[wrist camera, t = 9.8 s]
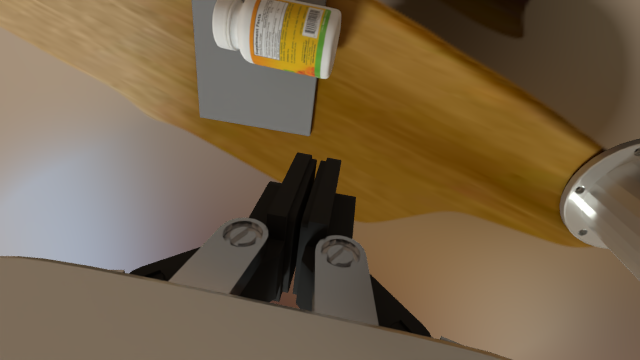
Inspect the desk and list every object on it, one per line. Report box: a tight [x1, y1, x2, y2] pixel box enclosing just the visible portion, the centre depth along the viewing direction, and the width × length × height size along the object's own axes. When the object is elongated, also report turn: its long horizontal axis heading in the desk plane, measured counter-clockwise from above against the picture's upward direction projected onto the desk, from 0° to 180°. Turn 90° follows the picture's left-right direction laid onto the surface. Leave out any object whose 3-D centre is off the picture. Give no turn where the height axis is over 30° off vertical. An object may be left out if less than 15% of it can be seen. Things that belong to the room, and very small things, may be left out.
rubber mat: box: [192, 0, 326, 136], centre depth 31 cm, size 12×13×1 cm
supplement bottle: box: [212, 0, 341, 79], centre depth 26 cm, size 5×5×10 cm
